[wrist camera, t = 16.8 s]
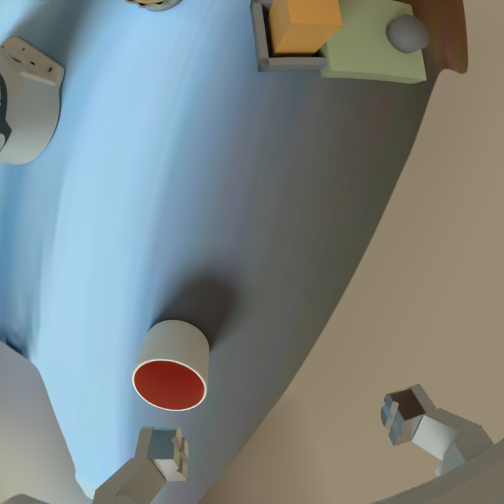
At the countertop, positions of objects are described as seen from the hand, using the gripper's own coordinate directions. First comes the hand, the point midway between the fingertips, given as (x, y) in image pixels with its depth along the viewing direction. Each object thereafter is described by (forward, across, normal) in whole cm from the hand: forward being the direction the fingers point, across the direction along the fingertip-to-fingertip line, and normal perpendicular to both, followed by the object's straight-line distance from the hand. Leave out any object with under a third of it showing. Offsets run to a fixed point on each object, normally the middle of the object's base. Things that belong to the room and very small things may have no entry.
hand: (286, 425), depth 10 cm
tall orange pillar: (+31, -8, -24) cm, 40 cm away
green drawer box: (+31, -15, -24) cm, 42 cm away
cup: (+31, +12, +18) cm, 38 cm away
